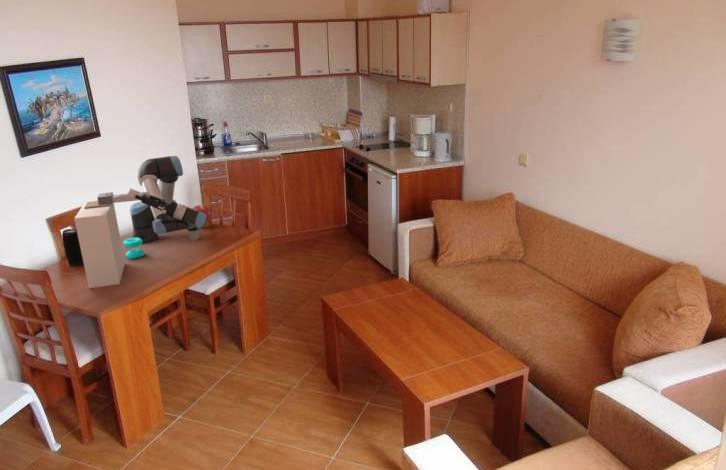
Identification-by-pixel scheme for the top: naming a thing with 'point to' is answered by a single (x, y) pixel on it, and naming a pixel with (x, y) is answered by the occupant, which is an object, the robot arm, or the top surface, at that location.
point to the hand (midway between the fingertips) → (128, 192)
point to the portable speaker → (72, 247)
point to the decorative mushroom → (203, 211)
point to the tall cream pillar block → (100, 244)
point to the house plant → (193, 233)
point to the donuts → (134, 252)
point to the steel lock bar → (117, 198)
